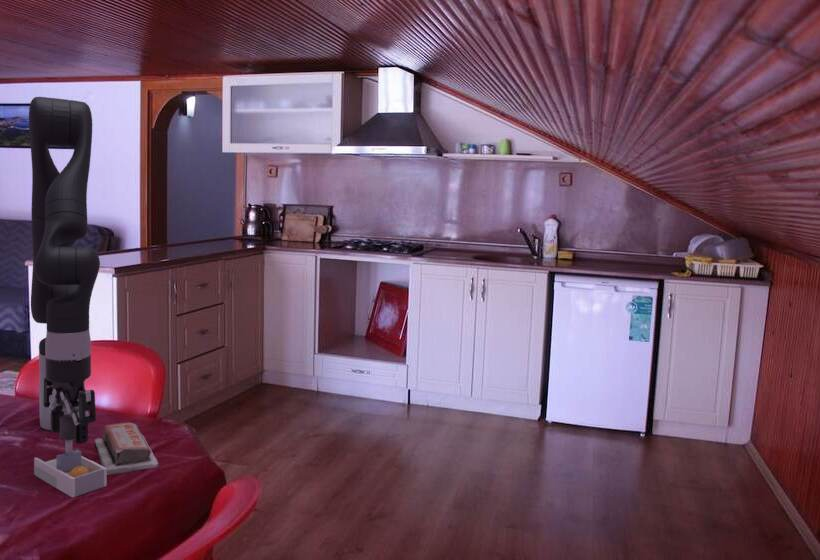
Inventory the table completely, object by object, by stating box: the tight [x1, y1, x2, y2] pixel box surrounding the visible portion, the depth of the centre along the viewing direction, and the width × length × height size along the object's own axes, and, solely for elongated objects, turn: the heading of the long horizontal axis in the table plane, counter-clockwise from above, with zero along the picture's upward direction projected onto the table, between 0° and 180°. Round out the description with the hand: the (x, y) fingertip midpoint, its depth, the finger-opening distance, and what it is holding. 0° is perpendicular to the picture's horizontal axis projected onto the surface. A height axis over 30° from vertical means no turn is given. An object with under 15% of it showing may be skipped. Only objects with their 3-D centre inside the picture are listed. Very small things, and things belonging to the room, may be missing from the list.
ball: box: [69, 466, 89, 478], centre depth 124 cm, size 4×4×4 cm
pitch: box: [33, 455, 90, 489], centre depth 127 cm, size 8×6×3 cm
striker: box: [55, 414, 82, 472], centre depth 125 cm, size 3×4×10 cm
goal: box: [56, 459, 108, 499], centre depth 123 cm, size 6×6×4 cm
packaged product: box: [94, 421, 159, 476], centre depth 139 cm, size 18×5×10 cm
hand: (69, 436), depth 125 cm, fingers open, 8 cm apart
